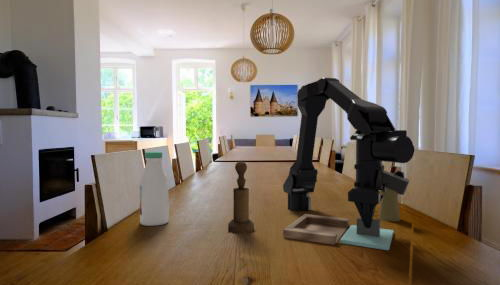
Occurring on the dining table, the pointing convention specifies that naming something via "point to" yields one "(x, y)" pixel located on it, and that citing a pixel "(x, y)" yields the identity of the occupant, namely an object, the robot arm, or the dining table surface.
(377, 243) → the cover plate
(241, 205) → the wooden pepper mill
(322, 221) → the wooden tray
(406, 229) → the dining table surface
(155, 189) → the milk bottle
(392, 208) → the cork
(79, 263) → the dining table surface
